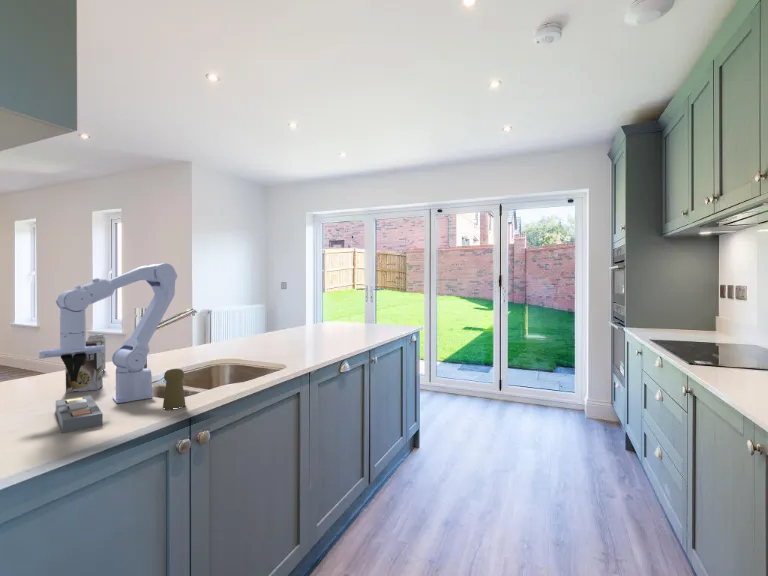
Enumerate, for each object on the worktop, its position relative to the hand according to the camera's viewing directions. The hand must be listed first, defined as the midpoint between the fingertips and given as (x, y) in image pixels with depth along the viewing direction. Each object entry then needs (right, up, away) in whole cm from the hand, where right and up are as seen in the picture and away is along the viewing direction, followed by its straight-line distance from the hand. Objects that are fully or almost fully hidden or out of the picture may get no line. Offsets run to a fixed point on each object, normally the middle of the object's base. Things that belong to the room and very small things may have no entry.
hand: (73, 380), depth 114 cm
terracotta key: (+10, -9, -11) cm, 17 cm away
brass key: (+1, -8, 0) cm, 8 cm away
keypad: (+6, -9, -6) cm, 12 cm away
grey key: (+6, -7, -6) cm, 11 cm away
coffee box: (-14, -8, +23) cm, 28 cm away
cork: (+26, -9, +4) cm, 28 cm away
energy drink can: (-29, -8, +50) cm, 58 cm away
